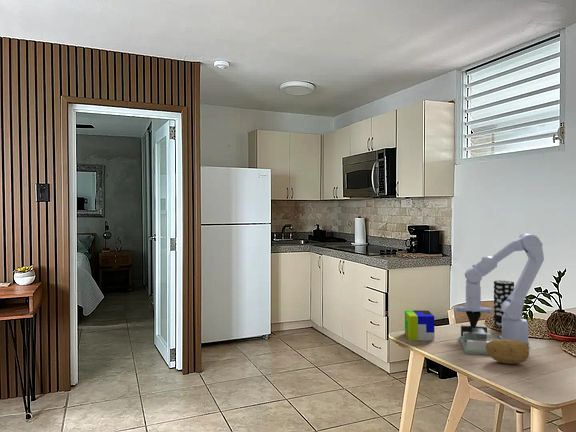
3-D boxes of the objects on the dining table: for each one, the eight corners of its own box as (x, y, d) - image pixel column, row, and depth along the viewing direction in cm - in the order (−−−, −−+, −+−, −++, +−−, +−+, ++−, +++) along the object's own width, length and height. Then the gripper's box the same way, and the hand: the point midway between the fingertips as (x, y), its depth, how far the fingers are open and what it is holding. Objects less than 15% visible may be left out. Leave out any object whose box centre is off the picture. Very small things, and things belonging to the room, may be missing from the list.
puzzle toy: (434, 340, 183) (434, 316, 183) (409, 340, 184) (409, 316, 184) (428, 333, 193) (428, 310, 193) (404, 333, 194) (404, 310, 194)
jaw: (486, 337, 184) (486, 326, 184) (490, 343, 176) (490, 332, 176) (460, 335, 186) (460, 325, 186) (463, 341, 178) (463, 330, 178)
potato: (482, 357, 163) (482, 335, 163) (525, 359, 160) (525, 337, 160) (488, 366, 154) (488, 343, 154) (533, 369, 151) (533, 346, 150)
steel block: (482, 342, 177) (482, 328, 177) (486, 348, 169) (486, 334, 169) (471, 341, 178) (471, 328, 178) (475, 348, 170) (475, 333, 170)
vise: (490, 340, 182) (490, 331, 182) (500, 355, 164) (500, 344, 164) (458, 339, 185) (458, 329, 184) (465, 353, 167) (465, 342, 167)
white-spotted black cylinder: (496, 328, 200) (496, 283, 199) (491, 323, 208) (491, 280, 207) (516, 328, 198) (516, 283, 198) (510, 323, 207) (510, 280, 206)
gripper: (455, 298, 184) (455, 331, 184) (494, 299, 180) (494, 333, 181) (453, 294, 191) (453, 326, 191) (490, 296, 187) (490, 328, 188)
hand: (473, 329), depth 186 cm, fingers closed, pressing on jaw
